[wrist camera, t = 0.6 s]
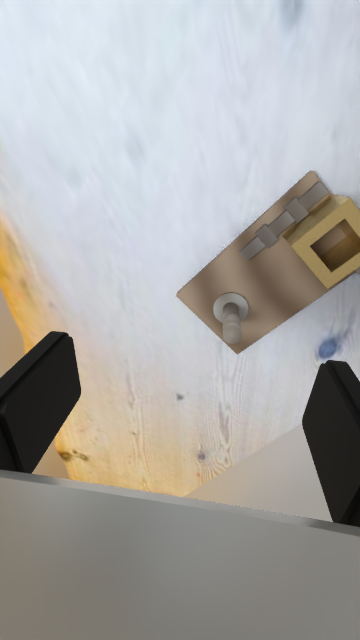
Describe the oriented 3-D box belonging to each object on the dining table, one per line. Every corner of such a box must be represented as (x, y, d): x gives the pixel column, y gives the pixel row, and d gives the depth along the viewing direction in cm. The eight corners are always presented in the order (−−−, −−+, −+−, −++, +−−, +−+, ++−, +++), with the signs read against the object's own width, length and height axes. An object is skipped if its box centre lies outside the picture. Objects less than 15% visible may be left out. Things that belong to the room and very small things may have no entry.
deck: (309, 170, 29) (338, 170, 22) (372, 253, 32) (416, 277, 25) (177, 292, 38) (166, 320, 30) (236, 349, 40) (240, 388, 33)
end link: (330, 193, 29) (350, 197, 25) (362, 236, 30) (386, 247, 26) (281, 235, 31) (291, 245, 27) (313, 273, 33) (327, 288, 28)
